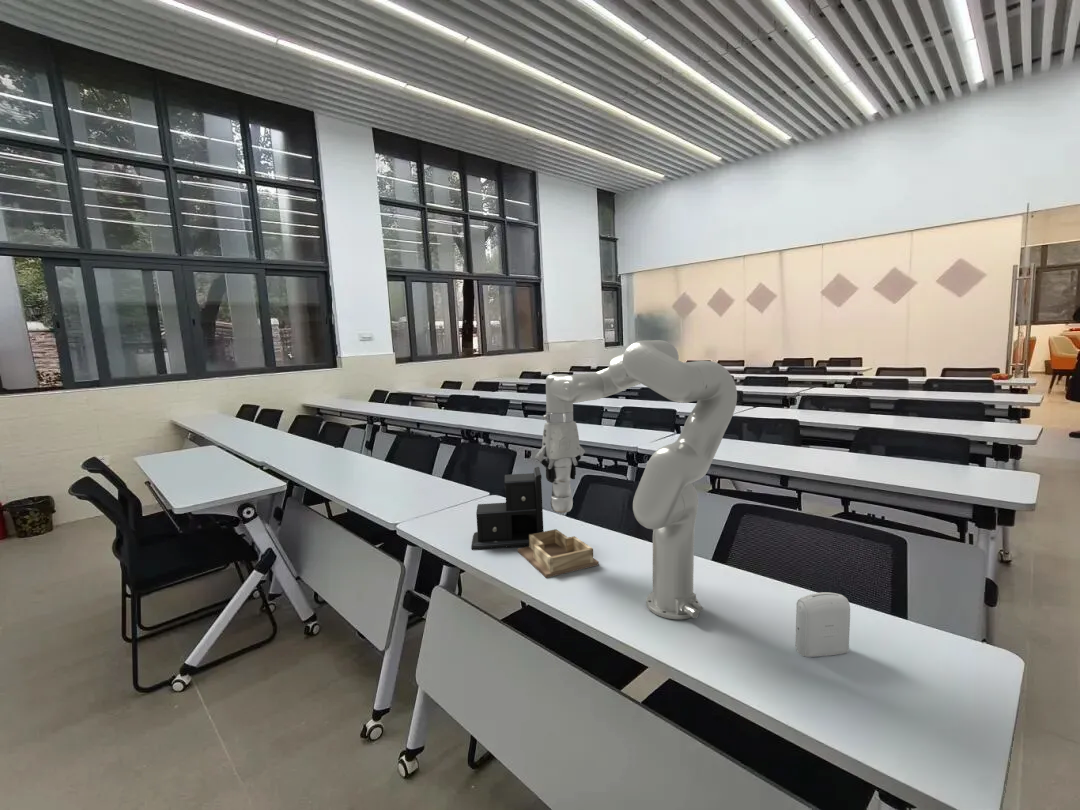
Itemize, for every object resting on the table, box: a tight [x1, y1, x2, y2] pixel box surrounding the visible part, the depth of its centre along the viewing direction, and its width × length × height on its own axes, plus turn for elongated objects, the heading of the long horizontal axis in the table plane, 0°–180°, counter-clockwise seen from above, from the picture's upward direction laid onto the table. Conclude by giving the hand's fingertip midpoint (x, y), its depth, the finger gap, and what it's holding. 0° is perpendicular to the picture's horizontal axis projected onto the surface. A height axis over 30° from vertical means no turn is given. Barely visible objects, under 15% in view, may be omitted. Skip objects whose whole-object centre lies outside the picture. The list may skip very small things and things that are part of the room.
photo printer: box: [794, 591, 851, 658], centre depth 102 cm, size 10×4×12 cm, turn 96°
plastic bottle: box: [550, 458, 574, 514], centre depth 144 cm, size 6×7×20 cm
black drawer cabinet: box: [470, 466, 545, 551], centre depth 163 cm, size 23×11×24 cm, turn 94°
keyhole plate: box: [517, 528, 600, 579], centre depth 151 cm, size 20×17×5 cm
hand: (561, 479), depth 145 cm, fingers closed on plastic bottle, 6 cm apart
